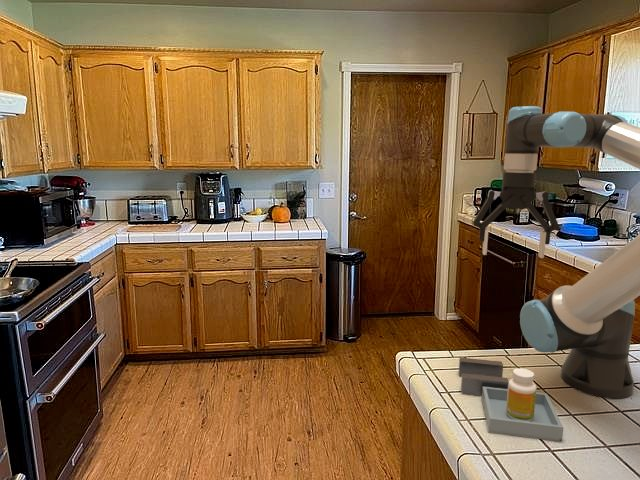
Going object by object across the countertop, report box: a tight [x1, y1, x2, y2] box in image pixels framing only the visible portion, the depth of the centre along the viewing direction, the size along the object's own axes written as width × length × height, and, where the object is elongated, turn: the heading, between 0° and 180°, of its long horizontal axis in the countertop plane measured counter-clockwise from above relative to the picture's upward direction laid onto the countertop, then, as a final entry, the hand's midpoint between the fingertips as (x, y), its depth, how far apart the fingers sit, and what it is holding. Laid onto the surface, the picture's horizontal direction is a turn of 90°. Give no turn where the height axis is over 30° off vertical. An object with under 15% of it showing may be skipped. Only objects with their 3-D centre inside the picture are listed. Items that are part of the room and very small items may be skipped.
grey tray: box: [481, 387, 564, 443], centre depth 100 cm, size 13×13×3 cm
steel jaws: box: [458, 356, 510, 397], centre depth 114 cm, size 10×11×4 cm
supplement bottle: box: [506, 368, 537, 422], centre depth 99 cm, size 5×5×10 cm
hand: (512, 255), depth 123 cm, fingers open, 13 cm apart
